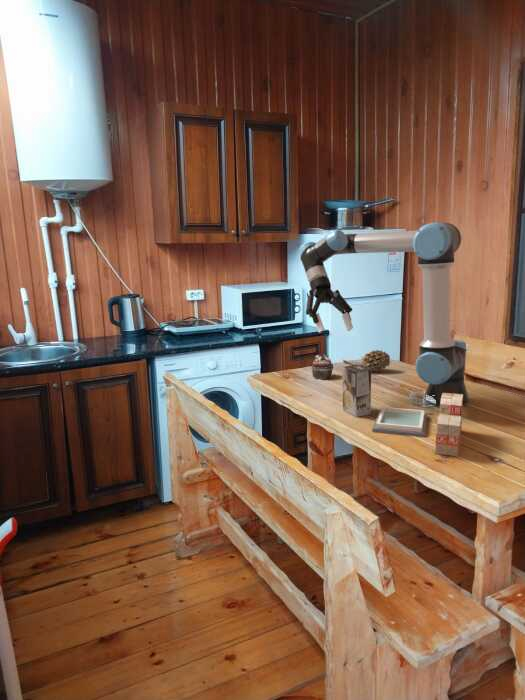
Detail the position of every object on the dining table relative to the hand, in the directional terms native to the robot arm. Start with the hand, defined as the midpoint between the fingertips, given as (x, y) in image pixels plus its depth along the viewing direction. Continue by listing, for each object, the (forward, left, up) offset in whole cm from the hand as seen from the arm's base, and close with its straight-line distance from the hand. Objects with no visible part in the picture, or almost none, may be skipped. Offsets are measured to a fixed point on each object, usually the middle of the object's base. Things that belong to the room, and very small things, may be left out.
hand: (336, 330), depth 193 cm
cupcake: (+13, -32, -28) cm, 44 cm away
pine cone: (-5, -46, -28) cm, 54 cm away
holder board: (-25, +18, -27) cm, 41 cm away
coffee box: (-9, +10, -28) cm, 31 cm away
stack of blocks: (-40, +29, -28) cm, 57 cm away
